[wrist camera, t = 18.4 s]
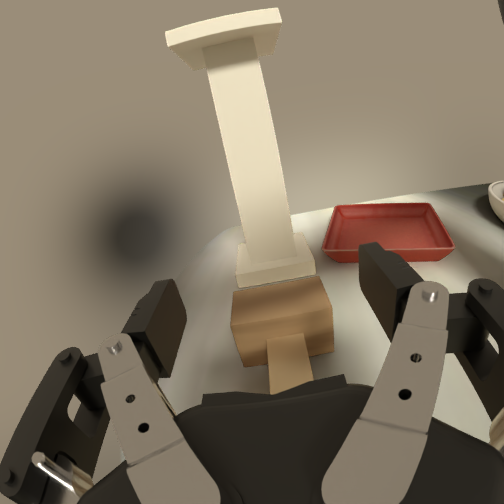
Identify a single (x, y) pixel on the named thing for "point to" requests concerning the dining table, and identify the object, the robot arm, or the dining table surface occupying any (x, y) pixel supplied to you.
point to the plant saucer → (387, 231)
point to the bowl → (497, 198)
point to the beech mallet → (283, 329)
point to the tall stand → (248, 139)
